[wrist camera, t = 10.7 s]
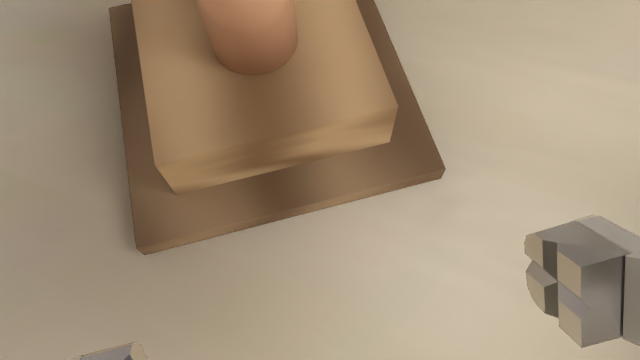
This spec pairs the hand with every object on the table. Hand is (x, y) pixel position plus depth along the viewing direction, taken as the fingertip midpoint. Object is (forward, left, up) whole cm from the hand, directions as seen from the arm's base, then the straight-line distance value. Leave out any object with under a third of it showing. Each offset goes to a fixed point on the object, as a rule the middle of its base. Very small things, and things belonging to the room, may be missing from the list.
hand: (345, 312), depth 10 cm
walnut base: (0, -13, -11) cm, 17 cm away
